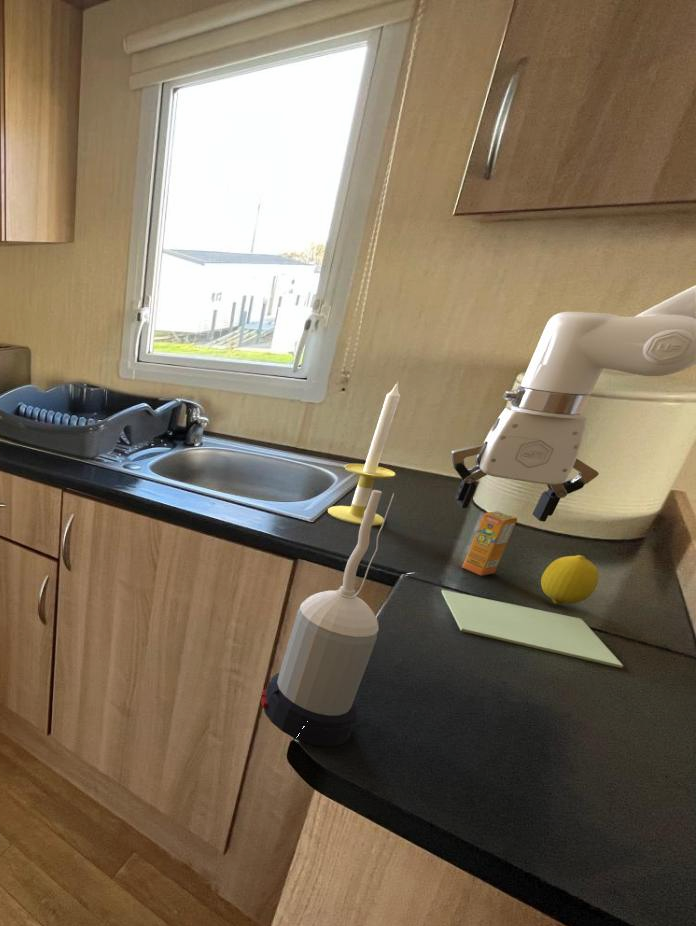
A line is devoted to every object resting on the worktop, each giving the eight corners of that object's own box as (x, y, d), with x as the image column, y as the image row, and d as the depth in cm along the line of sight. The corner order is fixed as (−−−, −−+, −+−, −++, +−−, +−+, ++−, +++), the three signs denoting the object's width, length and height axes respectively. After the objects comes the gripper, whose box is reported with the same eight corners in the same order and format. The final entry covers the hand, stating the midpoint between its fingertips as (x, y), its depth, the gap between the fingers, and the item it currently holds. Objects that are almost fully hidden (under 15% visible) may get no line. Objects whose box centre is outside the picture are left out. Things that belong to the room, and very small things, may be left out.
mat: (580, 621, 77) (581, 618, 77) (622, 668, 67) (623, 665, 67) (441, 591, 83) (442, 589, 83) (460, 631, 73) (461, 628, 73)
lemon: (566, 598, 83) (591, 550, 80) (592, 617, 78) (619, 567, 75) (523, 591, 84) (545, 544, 81) (546, 610, 79) (570, 561, 76)
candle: (395, 521, 110) (442, 384, 99) (365, 528, 105) (411, 386, 95) (346, 504, 118) (385, 376, 107) (316, 511, 114) (354, 378, 103)
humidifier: (245, 695, 60) (304, 478, 50) (309, 686, 62) (378, 474, 52) (299, 752, 53) (381, 511, 43) (369, 740, 54) (463, 506, 45)
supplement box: (459, 567, 91) (482, 511, 87) (473, 565, 92) (497, 510, 88) (480, 576, 88) (505, 519, 84) (495, 574, 89) (520, 517, 85)
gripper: (481, 399, 80) (437, 507, 87) (642, 416, 73) (581, 532, 80) (468, 392, 86) (428, 493, 93) (615, 407, 79) (560, 515, 86)
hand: (499, 511), depth 86 cm, fingers open, 9 cm apart
